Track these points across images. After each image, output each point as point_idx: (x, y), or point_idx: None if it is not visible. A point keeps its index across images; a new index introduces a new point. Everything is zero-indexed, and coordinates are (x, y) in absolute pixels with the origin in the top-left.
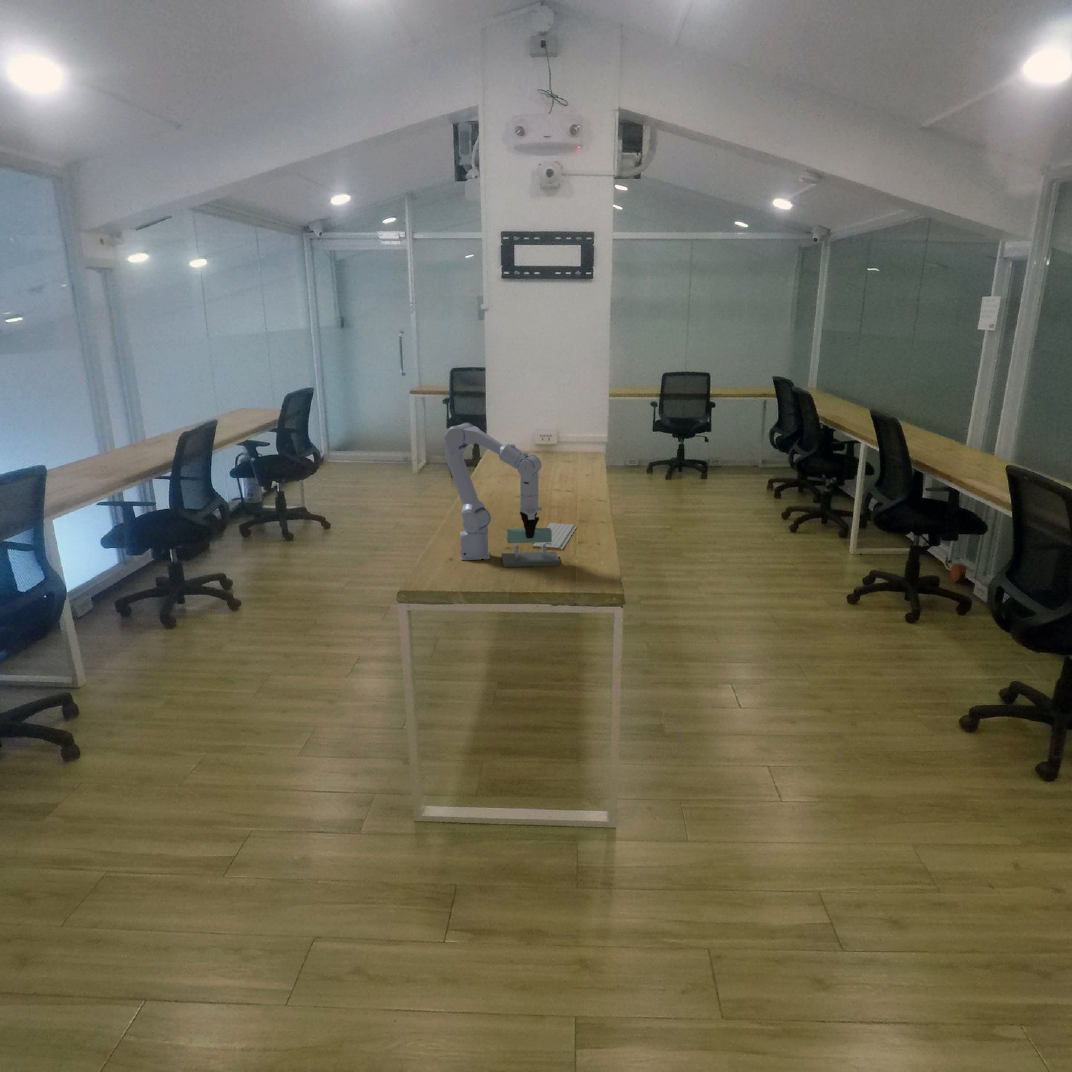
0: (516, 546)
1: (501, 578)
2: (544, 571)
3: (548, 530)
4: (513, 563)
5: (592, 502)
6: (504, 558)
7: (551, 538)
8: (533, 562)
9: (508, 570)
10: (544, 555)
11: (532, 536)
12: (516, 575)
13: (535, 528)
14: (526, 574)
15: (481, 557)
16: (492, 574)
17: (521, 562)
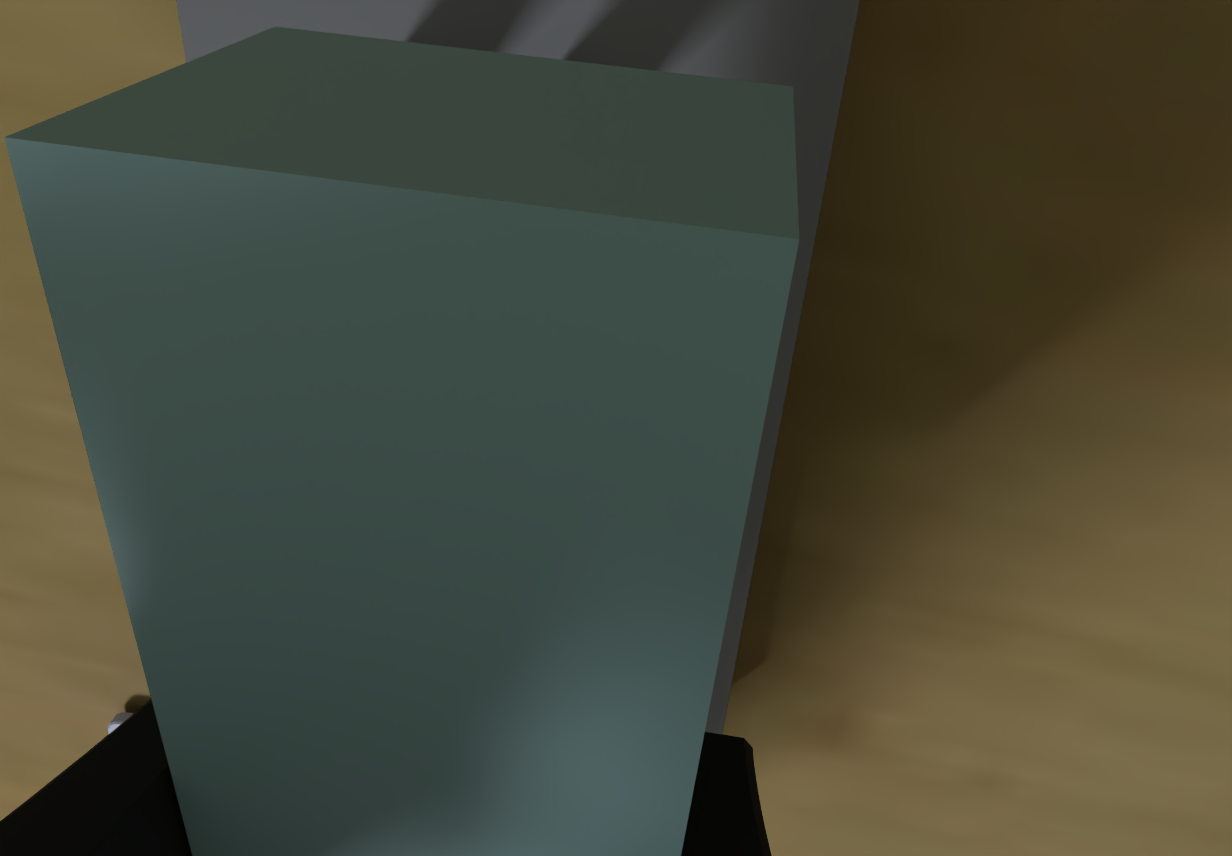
0: None
1: (1154, 800)
2: (1133, 201)
3: (521, 343)
4: (737, 632)
5: None
6: None
7: (794, 131)
8: (790, 363)
9: (864, 672)
10: None
11: (751, 800)
12: (1123, 637)
13: (193, 717)
14: (1147, 512)
15: None
16: (954, 839)
17: (755, 543)
